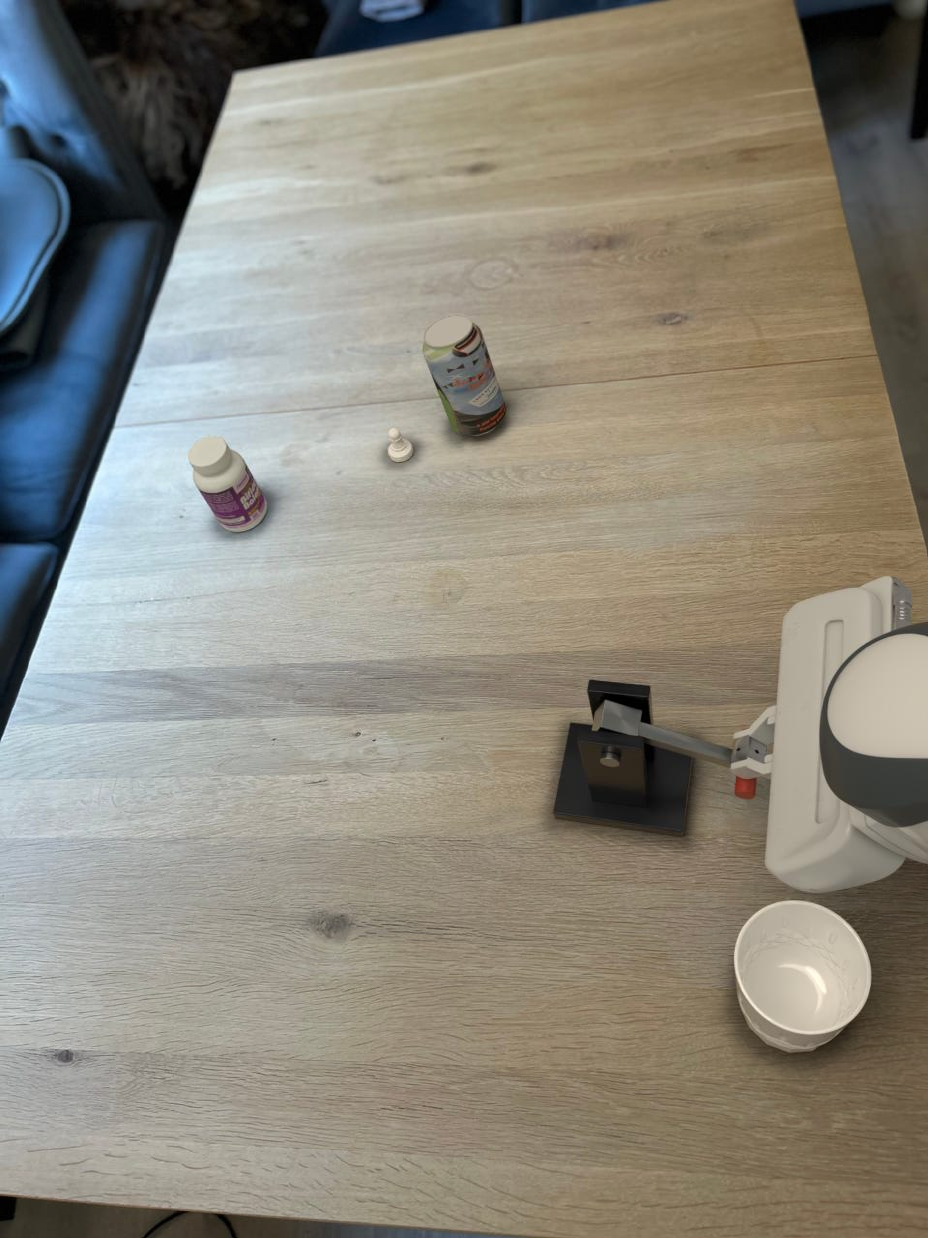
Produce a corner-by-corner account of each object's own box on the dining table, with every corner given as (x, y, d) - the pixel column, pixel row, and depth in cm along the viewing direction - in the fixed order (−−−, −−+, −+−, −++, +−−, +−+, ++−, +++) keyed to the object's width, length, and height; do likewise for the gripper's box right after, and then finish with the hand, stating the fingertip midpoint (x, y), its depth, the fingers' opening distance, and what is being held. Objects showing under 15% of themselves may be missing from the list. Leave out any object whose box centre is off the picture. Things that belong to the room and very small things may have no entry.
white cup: (852, 1071, 65) (874, 1044, 57) (728, 1053, 67) (732, 1024, 59) (848, 950, 69) (868, 907, 61) (731, 936, 71) (736, 893, 63)
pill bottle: (267, 529, 101) (231, 466, 93) (218, 538, 102) (178, 476, 94) (270, 489, 104) (234, 425, 96) (222, 498, 105) (183, 435, 97)
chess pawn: (410, 462, 102) (402, 439, 100) (387, 462, 103) (378, 439, 100) (416, 444, 104) (407, 420, 101) (392, 443, 104) (384, 420, 101)
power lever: (752, 741, 74) (767, 729, 72) (746, 803, 71) (761, 793, 69) (597, 694, 73) (608, 681, 71) (586, 756, 71) (597, 744, 69)
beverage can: (482, 453, 101) (458, 365, 91) (431, 425, 105) (403, 337, 95) (522, 414, 103) (502, 324, 93) (470, 388, 107) (446, 298, 97)
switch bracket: (694, 743, 80) (693, 670, 70) (682, 837, 76) (680, 775, 66) (571, 728, 83) (554, 657, 73) (554, 818, 79) (533, 756, 69)
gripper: (878, 545, 64) (719, 614, 74) (873, 849, 53) (690, 879, 64) (940, 589, 66) (778, 650, 77) (947, 889, 56) (758, 911, 67)
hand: (737, 757), depth 70 cm, fingers closed
